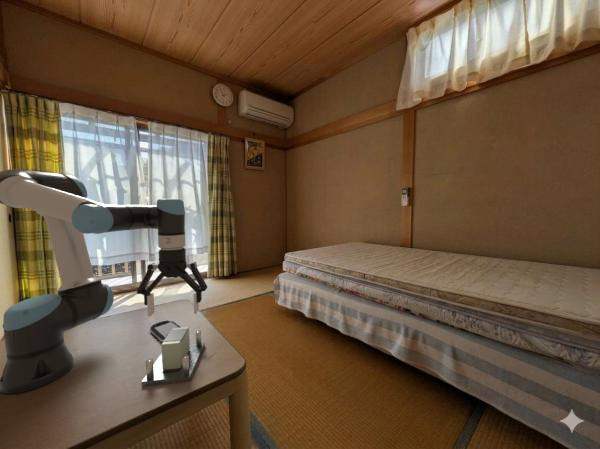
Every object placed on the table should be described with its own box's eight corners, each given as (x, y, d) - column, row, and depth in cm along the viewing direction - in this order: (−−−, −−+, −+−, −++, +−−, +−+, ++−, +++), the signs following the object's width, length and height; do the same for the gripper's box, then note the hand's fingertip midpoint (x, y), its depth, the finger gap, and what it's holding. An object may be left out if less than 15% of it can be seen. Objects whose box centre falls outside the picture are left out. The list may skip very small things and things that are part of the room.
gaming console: (147, 331, 99) (147, 325, 99) (170, 323, 106) (169, 317, 106) (165, 348, 87) (165, 341, 87) (189, 338, 93) (189, 331, 93)
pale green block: (162, 370, 72) (161, 344, 71) (174, 350, 82) (173, 327, 81) (180, 368, 73) (179, 342, 72) (190, 349, 82) (189, 326, 82)
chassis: (141, 386, 67) (140, 364, 67) (166, 349, 85) (165, 332, 85) (190, 381, 69) (189, 359, 69) (204, 346, 87) (204, 329, 87)
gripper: (121, 250, 69) (124, 321, 71) (211, 249, 73) (212, 316, 75) (135, 246, 76) (137, 310, 78) (215, 245, 80) (216, 306, 82)
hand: (174, 313), depth 76 cm, fingers open, 13 cm apart
